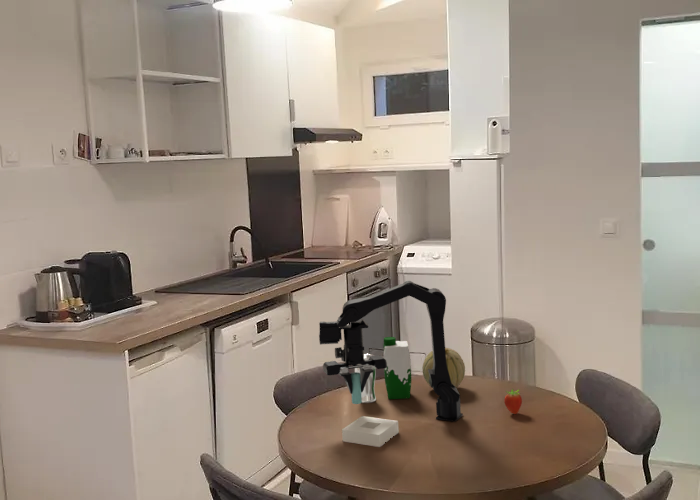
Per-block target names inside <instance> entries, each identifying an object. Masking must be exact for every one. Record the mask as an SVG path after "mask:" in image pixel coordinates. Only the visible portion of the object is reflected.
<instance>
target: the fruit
mask: <svg viewBox="0 0 700 500" xmlns="http://www.w3.org/2000/svg"><path fill="white" fill-rule="evenodd" d="M510 391H511V392H510ZM510 391H507V390H505V392H506V393H507V394H506V395H505V397H504V401H503V402H504V405H505V407H506V409H507V410H508V411H509V412H510V413H511V414H514V415H516V414H517V415H518V413H519V412H520V409H521V406H522V404H523V398H522V396H521V395H520V394H521V393H519V391H520V389H517V390H514V389H511V390H510Z"/></svg>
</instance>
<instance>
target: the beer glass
mask: <svg viewBox="0 0 700 500" xmlns="http://www.w3.org/2000/svg"><path fill="white" fill-rule="evenodd" d="M371 356H375V355H374V354H370V353H364V360H369V357H371ZM358 365H361V364H358ZM376 369H377V368H376V367H375V366H372V370H374V372H373V373H371V374H370V376H369V378H368V380H367V382H366V385H365V387H364V390H363V392H361V396H362V403H361V404H371V403H374V402H375V401H376V400H377V398H376V393H375V383H376V373H377V372H376ZM354 372H358V373H360V368H354Z"/></svg>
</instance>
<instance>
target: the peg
mask: <svg viewBox="0 0 700 500" xmlns="http://www.w3.org/2000/svg"><path fill="white" fill-rule="evenodd" d="M350 374H351V381H352V394H351V403H352V404H354V405H360V404H363V403H362V396H361V378H360V373H358V372H355V371H354V372H351V373H350Z"/></svg>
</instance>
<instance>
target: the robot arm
mask: <svg viewBox="0 0 700 500" xmlns="http://www.w3.org/2000/svg"><path fill="white" fill-rule="evenodd" d="M406 297H407V298H408V297H412V298H414V299H415V300H417V301H420V302H422V303H423V304H425V305H426V310H427V313H428V316H429V320H430V334H431V335H430V336H431V348H432V349H431V351H433V368H432V369H428V372H429V383H430V388H432V387H433V388H432V389H433V392H434V394H436V395H437V396H438V397H437V399H436V400H437V401H436V402H435V409H436V412H435V413H436V416H435V420H441V421H446V422H448V421H449V422H457V421H458V420H459V419H461V417H463V415H464V414H463V413H462V412H461V411H462V410H461V395H460V393H459V391H458V389H457V387H455V386H454V385H453V384H452V383H451V379H450V375H449V372H448V368H447V365H446V351H445V348H446V341H445V340H446V339H445V329H444V328H445V327H444V326H445V325H444V318H445V313H446V304H447V299H446V296H445V294H444V293H443V291H441V290H440V289H438V288H435V287H433V288H428V287H426V286H423V285H420V284H417V283H414V282H413V281H411V280H407V281H404V282H403V283H400V284H398V285H395V286H393V287H390V288H388V289H386V290H383V291H380V292H378V293H376V294H373V295H371V296H367V297H358V298H354V299H350V300H346V301H345V302H344V304H343V305H342V311H341V314H340V316H339V317H337V320H336V321H320V322H318V323H319V324H318V325H319V332H318V339H319V345H334V344H339V342H340V341H342V340H343V343H344V344H343V349H342V347H340V346H339V347H335V348H334V356H335V359H341V361H342V362H343V363H341V362H340V363H339V362H337V361H336V360H331V361H325V362H324V363H323V365H322V371H323V372H324V373H325V374H326V376H336V375H339V376H340V377H342V378H343V380H344V381H345V385H346V386H347V388H348V391H349V393H350V394H351V395H352V381H351V373H350V371H349V370H351V369H352V370H353V369H355V368H360V378H361V392H363V390H364V387H365V385H366V382H367V380H368V378H369V376H370V374H371V373H373V372H374V370H372V366H375V367H376V369H377V370H380V369H381V370H384V368H387V362H386V360H385V359H384V356H381V354H380V355H379V354H378V355H374V356H371V357H369V360H364V354H365V353H364V351H365V346H364V336H363V335H364V334H363V331H364V330H363V329H369V323H367V322H366V320H364V319H363V318H364V317H366V316H367V315H369V314H370V313H371V312H373V311H375V310H377V309H379V308H382V307H384V306H387V305H389V304H392V303H395V302H397V301H399V300H402V299H405V298H406ZM342 331H343V335H342ZM342 336H343V337H342ZM342 338H343V339H342ZM358 364H361V365H358Z"/></svg>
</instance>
